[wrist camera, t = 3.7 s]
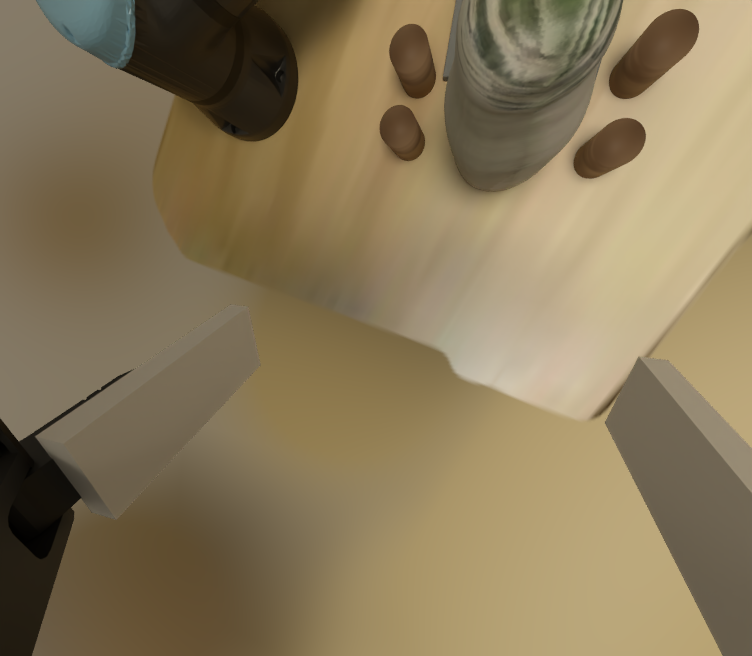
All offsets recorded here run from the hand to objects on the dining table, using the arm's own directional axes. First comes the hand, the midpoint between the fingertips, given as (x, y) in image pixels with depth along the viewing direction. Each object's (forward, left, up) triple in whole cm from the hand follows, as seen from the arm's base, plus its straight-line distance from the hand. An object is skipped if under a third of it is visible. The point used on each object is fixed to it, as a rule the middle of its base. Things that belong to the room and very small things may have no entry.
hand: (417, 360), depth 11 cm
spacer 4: (-8, +25, -35) cm, 44 cm away
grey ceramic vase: (-10, +11, -35) cm, 38 cm away
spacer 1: (-22, +7, -35) cm, 42 cm away
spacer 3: (-3, +19, -35) cm, 40 cm away
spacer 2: (-17, +3, -35) cm, 39 cm away
